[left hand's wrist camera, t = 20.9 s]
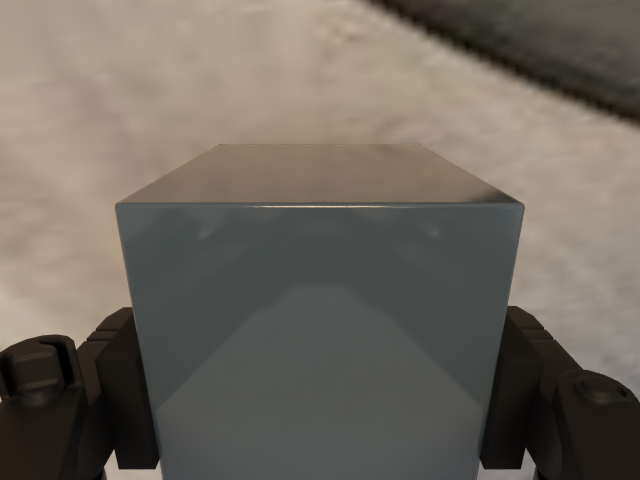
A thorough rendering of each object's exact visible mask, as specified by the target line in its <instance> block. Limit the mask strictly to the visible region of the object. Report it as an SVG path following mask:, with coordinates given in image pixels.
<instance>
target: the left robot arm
mask: <svg viewBox="0 0 640 480" xmlns="http://www.w3.org/2000/svg"><path fill="white" fill-rule="evenodd" d="M0 396H1V399H2V401H1V403H0V480H107V477H106V472H105V468H104V466H105V464H106V462H107V461H108V459H109V457H110V455H111V454H112V452H113V450H115V454H116V459H117V463H118V468H119V469H156V466H157V464H158V462H159V454H158V449H157V443H156V438H155V432H154V426H153V421H152V415H151V409H150V404H149V398H148V392H147V387H146V381H145V375H144V370H143V364H142V358H141V353H140V348H139V342H138V336H137V331H136V325H135V319H134V314H133V308H132V307H123V308H122V309H120V310H118V311H116V312H115V313H113V314H111V315H110V316H108V317H106V318H105V320H104V321H103V322H102V323H101V324H100V325H99V326H98V327H97V328H96V331H93V333H92V334H91V335H90V336H89V337H88V338H87V341H84V342H83V343H82V344H81V346H80V347H79V348H78V349H77V350H76V348H75V343H74V340H72V339H71V338H69V337H68V336H63V335H57V334H55V335H43V336H38V337H34V338H30V339H26V340H24V341H21V342H19V343H16V344H14V345H12V346H10V347H8V348H6V349H5V350H3V351H2V352H0ZM525 448H526V449H527V450H528V452H529V454H530V456H531V457H532V459H533V461H534V463H535V464H536V468H535V472H534V477H533V480H640V402H639V400H638V399H637V398H636V397H635V395H634V394H633V393H632V392H631V390H629V389H628V388H627V387H625V386H624V385H622V384H621V383H620V382H618V381H616V380H614V379H612V378H610V377H608V376H606V375H603V374H600V373H596V372H593V371H589V370H583V369H582V368H581V367H580V366H579V365H578V364H577V362H576V361H575V360H574V359H573V358H572V357H571V356H570V355H569V354H568V353H567V352H566V351H565V350H564V348H563V347H562V346H561V345H560V344H559V343H558V342H557V341H556V340H553V337H552V336H551V334H550V333H549V332H548V331H547V330H544V327H543V326H542V325H541V324H540V323H539V322H538V320H537V319H536V318H535V317H534V316H533V315H531V314H529V313H527V312H526V311H524V310H522V309H521V308H519V307H517V306H507V310H506V316H505V322H504V327H503V333H502V339H501V344H500V350H499V355H498V361H497V366H496V372H495V377H494V383H493V389H492V394H491V400H490V406H489V411H488V417H487V423H486V428H485V434H484V440H483V445H482V451H481V457H480V460H481V463H482V465H483V467H484V469H521V466H522V461H523V457H524V452H525Z"/></svg>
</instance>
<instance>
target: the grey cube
mask: <svg viewBox="0 0 640 480" xmlns="http://www.w3.org/2000/svg"><path fill="white" fill-rule="evenodd" d="M524 209H525V207H524V204H523V203H521V202H520V201H518V200H516V199H514V198H513V197H511V196H509V195H507V194H506V193H504V192H502V191H500V190H499V189H497V188H495V187H494V186H492V185H490V184H488V183H487V182H485V181H483V180H481V179H480V178H478V177H476V176H474V175H473V174H471V173H469V172H467V171H466V170H464V169H462V168H460V167H459V166H457V165H455V164H453V163H452V162H450V161H448V160H446V159H445V158H443V157H441V156H439V155H438V154H436V153H434V152H432V151H431V150H429V149H427V148H425V147H424V146H422V145H420V144H219V145H217V146H216V147H214V148H212V149H210V150H209V151H207V152H205V153H203V154H202V155H200V156H198V157H196V158H195V159H193V160H191V161H189V162H188V163H186V164H184V165H182V166H181V167H179V168H177V169H175V170H174V171H172V172H170V173H168V174H167V175H165V176H163V177H161V178H160V179H158V180H156V181H154V182H153V183H151V184H149V185H147V186H146V187H144V188H142V189H140V190H139V191H137V192H135V193H133V194H132V195H130V196H128V197H127V198H125V199H123V200H121V201H120V202H118V203H116V205H115V212H116V217H117V223H118V229H119V234H120V240H121V246H122V251H123V257H124V263H125V268H126V274H127V280H128V285H129V291H130V297H131V302H132V308H133V314H134V319H135V325H136V331H137V336H138V342H139V348H140V353H141V358H142V364H143V370H144V375H145V381H146V387H147V392H148V398H149V404H150V409H151V415H152V421H153V426H154V432H155V438H156V443H157V449H158V454H159V461H160V467H161V472H162V478H163V480H476V479H477V474H478V468H479V462H480V457H481V451H482V445H483V440H484V434H485V428H486V423H487V417H488V411H489V406H490V400H491V394H492V389H493V383H494V377H495V372H496V366H497V361H498V355H499V350H500V344H501V339H502V333H503V327H504V322H505V316H506V310H507V305H508V299H509V293H510V288H511V282H512V277H513V271H514V265H515V260H516V254H517V248H518V243H519V237H520V232H521V226H522V220H523V215H524Z"/></svg>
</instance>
